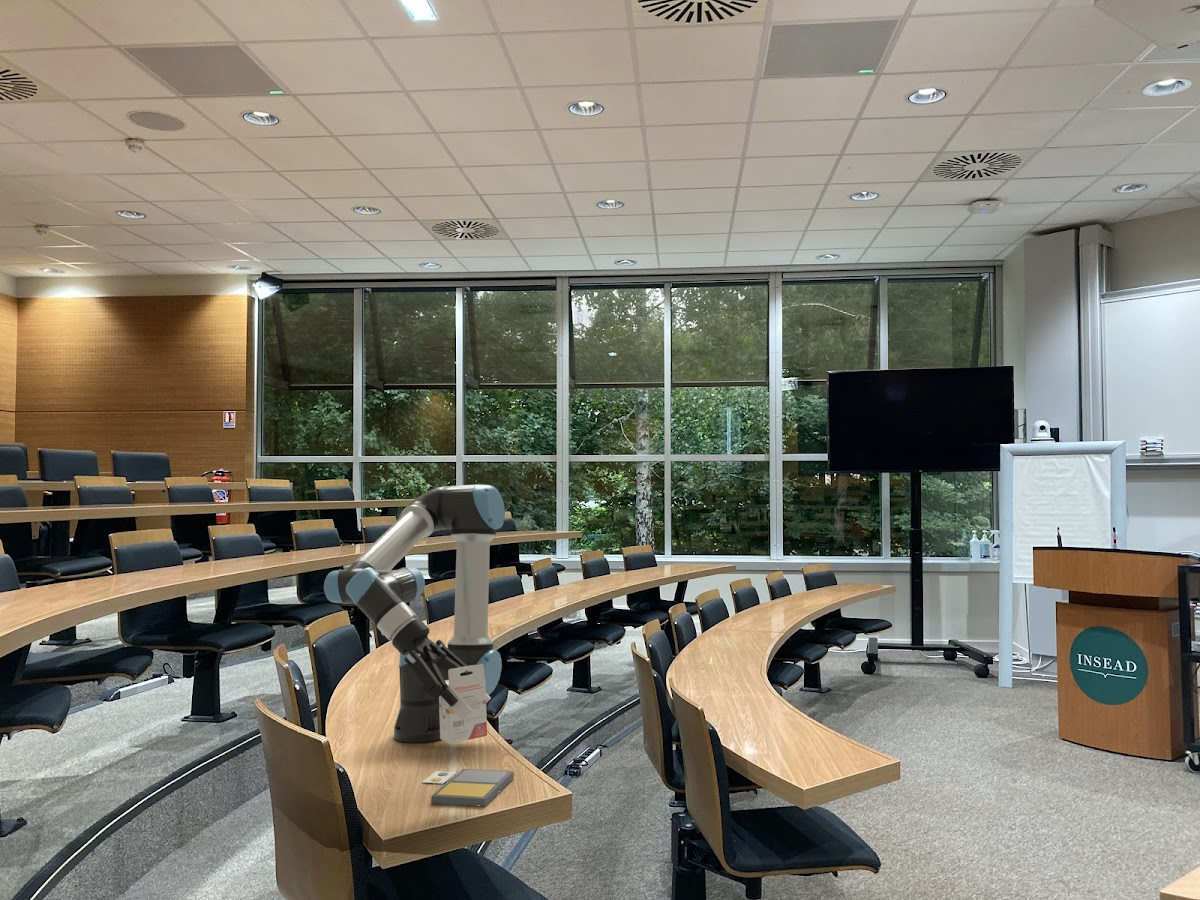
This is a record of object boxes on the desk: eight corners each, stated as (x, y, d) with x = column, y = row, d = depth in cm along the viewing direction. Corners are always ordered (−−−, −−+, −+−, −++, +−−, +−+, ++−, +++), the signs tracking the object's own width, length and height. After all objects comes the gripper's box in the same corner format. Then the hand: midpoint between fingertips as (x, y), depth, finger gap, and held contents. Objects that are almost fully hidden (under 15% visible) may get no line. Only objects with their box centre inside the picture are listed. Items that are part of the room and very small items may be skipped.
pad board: (463, 775, 183) (463, 768, 183) (513, 778, 181) (513, 770, 181) (431, 803, 167) (431, 795, 167) (485, 806, 164) (485, 798, 165)
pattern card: (435, 772, 186) (435, 770, 186) (456, 773, 185) (456, 771, 185) (422, 783, 179) (422, 781, 179) (443, 784, 178) (443, 782, 178)
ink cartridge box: (476, 731, 175) (475, 660, 175) (487, 736, 171) (486, 663, 171) (438, 739, 170) (437, 665, 170) (449, 744, 166) (448, 669, 166)
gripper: (416, 633, 185) (485, 708, 181) (366, 652, 164) (443, 737, 159) (438, 609, 184) (507, 684, 180) (390, 625, 163) (468, 709, 159)
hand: (477, 708), depth 170 cm, fingers closed on ink cartridge box, 9 cm apart
